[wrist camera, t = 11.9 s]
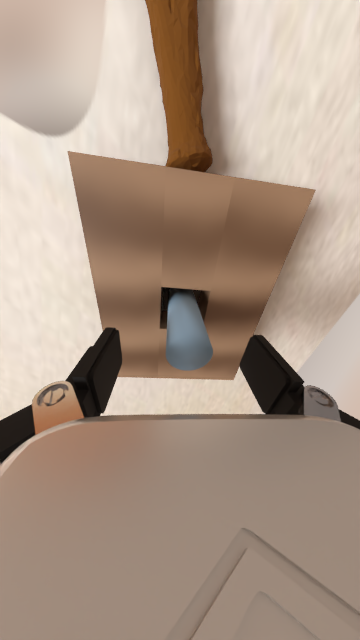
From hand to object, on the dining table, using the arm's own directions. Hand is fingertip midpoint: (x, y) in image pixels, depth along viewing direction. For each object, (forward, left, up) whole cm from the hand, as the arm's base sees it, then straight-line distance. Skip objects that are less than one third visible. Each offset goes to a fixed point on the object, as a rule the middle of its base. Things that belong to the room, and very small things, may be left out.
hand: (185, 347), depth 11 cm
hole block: (+1, 0, -9) cm, 9 cm away
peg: (+1, 0, -9) cm, 9 cm away
